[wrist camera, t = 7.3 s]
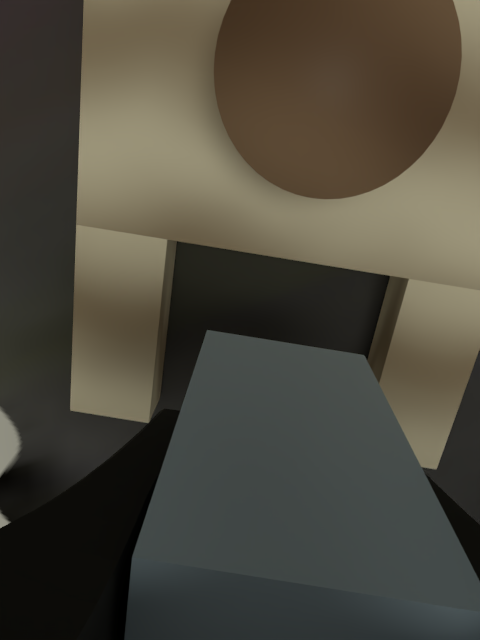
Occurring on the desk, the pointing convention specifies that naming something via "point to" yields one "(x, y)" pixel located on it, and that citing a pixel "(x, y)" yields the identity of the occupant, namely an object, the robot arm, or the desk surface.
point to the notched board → (239, 211)
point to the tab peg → (294, 511)
